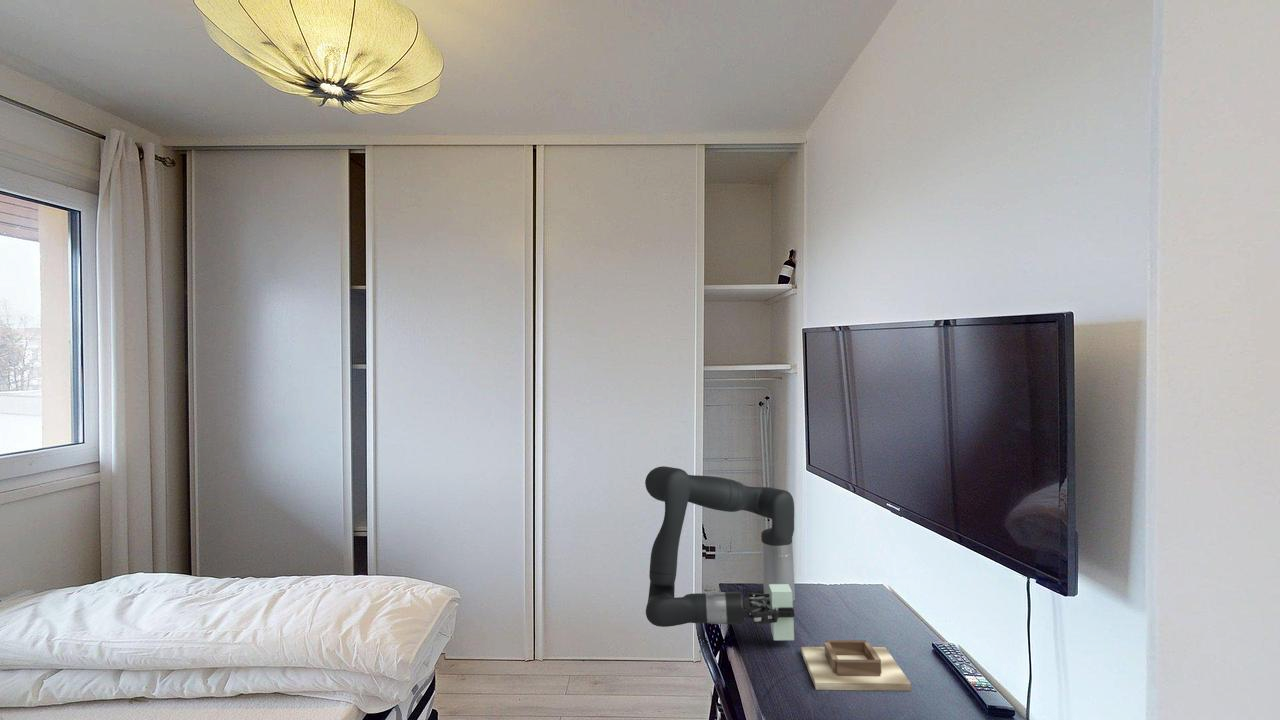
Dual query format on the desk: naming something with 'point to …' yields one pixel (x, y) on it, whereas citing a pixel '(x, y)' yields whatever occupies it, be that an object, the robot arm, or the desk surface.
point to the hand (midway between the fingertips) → (791, 607)
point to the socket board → (853, 667)
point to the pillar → (781, 598)
